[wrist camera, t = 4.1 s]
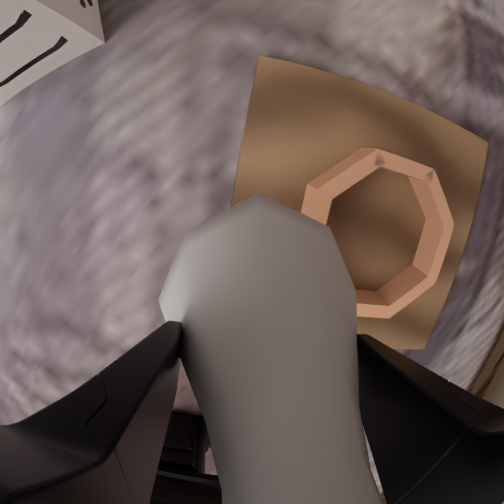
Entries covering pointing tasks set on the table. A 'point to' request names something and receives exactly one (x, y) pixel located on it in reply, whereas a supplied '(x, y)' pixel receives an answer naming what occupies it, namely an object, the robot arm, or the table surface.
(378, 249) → the board
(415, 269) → the ring
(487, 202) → the table surface
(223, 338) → the flask
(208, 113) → the table surface
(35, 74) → the grater
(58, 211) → the table surface
